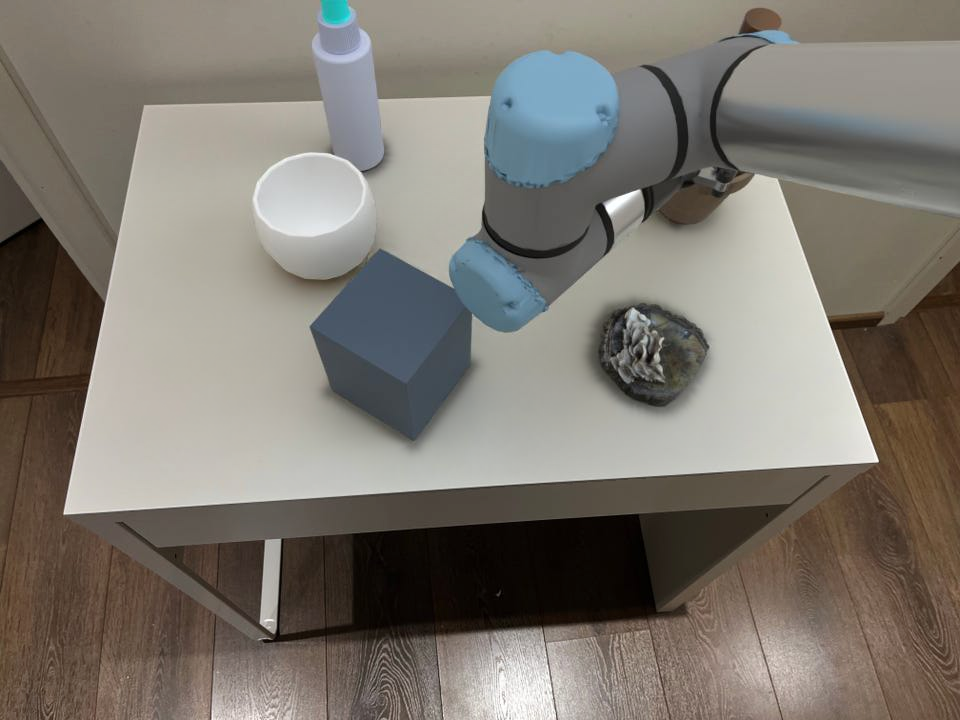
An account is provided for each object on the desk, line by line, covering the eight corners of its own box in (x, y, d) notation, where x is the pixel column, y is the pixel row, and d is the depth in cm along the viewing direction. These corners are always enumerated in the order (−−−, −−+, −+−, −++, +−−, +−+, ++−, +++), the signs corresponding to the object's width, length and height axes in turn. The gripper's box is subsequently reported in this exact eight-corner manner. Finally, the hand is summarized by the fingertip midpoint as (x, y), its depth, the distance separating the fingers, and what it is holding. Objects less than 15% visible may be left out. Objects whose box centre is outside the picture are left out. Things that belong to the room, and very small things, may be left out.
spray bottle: (386, 137, 86) (365, -38, 67) (383, 173, 83) (360, 1, 64) (337, 136, 86) (302, -40, 67) (332, 172, 83) (294, 0, 64)
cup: (404, 245, 78) (398, 184, 70) (330, 319, 73) (313, 263, 65) (322, 194, 82) (306, 130, 73) (245, 262, 77) (219, 201, 68)
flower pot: (740, 245, 79) (775, 183, 71) (640, 242, 79) (663, 179, 71) (725, 170, 85) (755, 103, 76) (632, 167, 85) (651, 100, 76)
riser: (470, 364, 71) (472, 298, 61) (414, 441, 67) (406, 384, 56) (391, 318, 73) (379, 247, 63) (331, 390, 69) (308, 326, 59)
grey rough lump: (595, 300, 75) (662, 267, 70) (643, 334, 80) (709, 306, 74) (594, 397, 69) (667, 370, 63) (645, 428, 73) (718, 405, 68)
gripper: (533, 170, 62) (689, 50, 71) (678, 274, 57) (827, 132, 66) (542, 101, 56) (712, -21, 64) (706, 212, 50) (868, 63, 59)
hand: (770, 56), depth 65 cm, fingers closed on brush, 3 cm apart
